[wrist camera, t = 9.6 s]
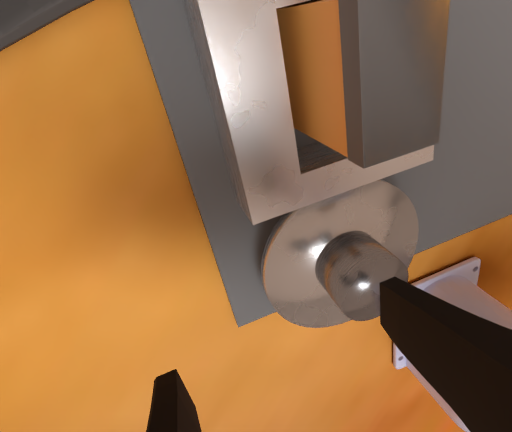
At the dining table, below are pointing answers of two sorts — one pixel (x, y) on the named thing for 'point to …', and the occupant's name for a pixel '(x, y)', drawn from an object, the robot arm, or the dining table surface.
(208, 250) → the dining table surface
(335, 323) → the scaffold node
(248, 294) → the site mat
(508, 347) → the robot arm
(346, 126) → the orange grey two-tone block
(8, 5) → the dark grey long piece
